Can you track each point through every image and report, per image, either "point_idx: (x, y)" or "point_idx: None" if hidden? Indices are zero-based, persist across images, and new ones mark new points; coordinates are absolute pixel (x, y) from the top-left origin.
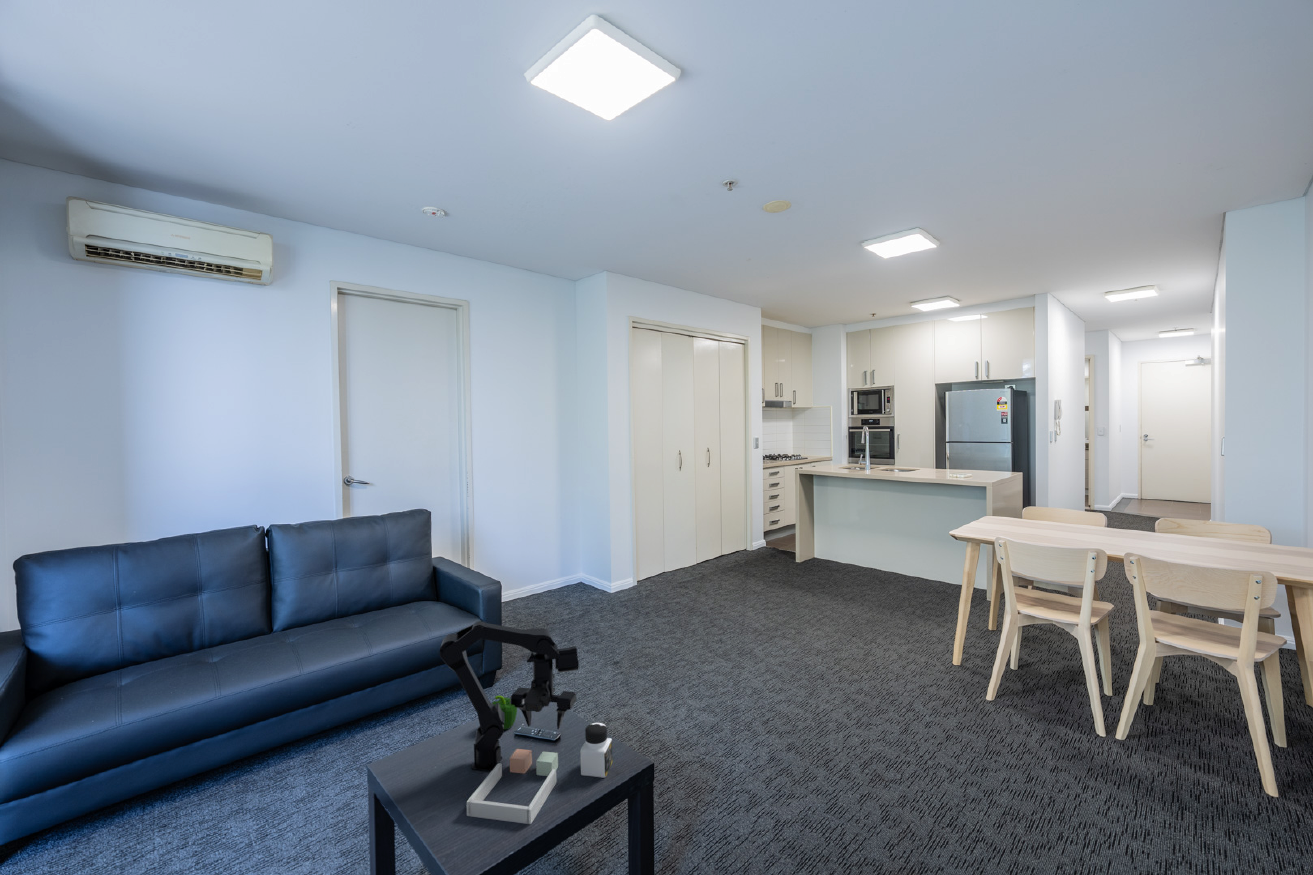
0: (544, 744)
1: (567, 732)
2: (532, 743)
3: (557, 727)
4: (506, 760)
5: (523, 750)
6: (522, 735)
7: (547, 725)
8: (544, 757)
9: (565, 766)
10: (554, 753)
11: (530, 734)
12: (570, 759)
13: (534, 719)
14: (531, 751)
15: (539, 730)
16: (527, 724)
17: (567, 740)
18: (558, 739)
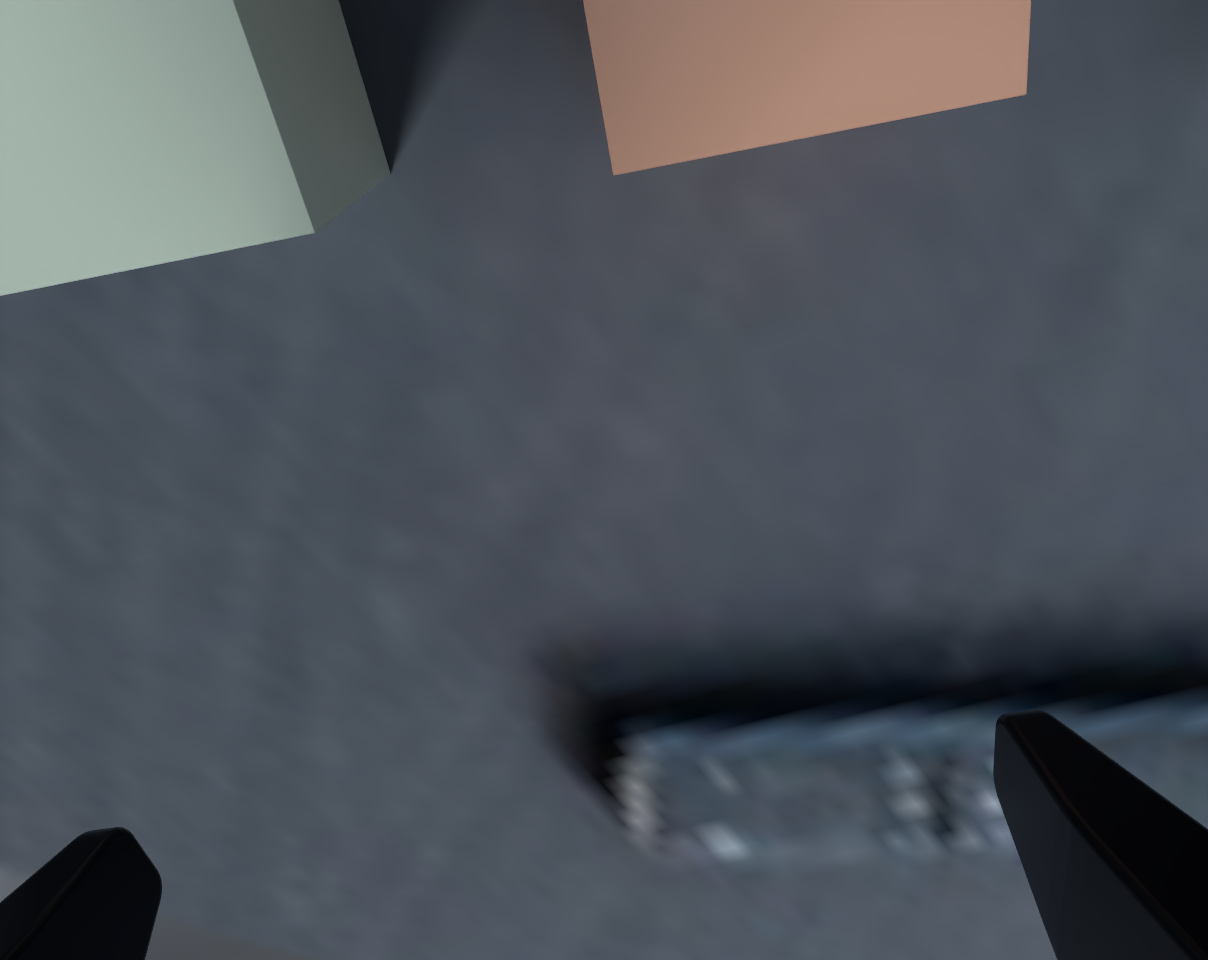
0: (714, 624)
1: (574, 878)
2: (904, 593)
3: (73, 863)
4: (1157, 40)
5: (813, 94)
6: (1141, 692)
7: (894, 913)
8: (78, 5)
9: None
10: (10, 257)
11: None
12: (103, 457)
13: None
14: (612, 166)
15: (947, 825)
16: (1082, 741)
17: (467, 770)
18: (593, 755)
